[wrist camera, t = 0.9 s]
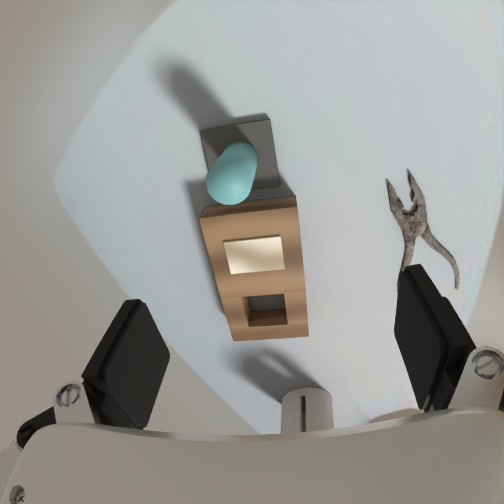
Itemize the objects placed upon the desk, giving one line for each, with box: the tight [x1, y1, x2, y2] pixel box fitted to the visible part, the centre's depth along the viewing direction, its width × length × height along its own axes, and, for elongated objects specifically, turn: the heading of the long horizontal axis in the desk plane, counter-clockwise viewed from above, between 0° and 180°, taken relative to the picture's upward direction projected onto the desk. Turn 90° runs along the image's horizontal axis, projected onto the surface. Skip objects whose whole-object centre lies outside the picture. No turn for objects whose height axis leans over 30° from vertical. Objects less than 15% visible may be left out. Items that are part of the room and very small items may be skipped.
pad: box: [200, 119, 280, 190], centre depth 31 cm, size 7×7×1 cm
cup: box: [281, 387, 334, 434], centre depth 47 cm, size 9×9×12 cm
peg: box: [206, 141, 259, 205], centre depth 27 cm, size 4×4×8 cm
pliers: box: [388, 174, 459, 290], centre depth 35 cm, size 10×1×20 cm
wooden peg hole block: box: [199, 196, 309, 341], centre depth 37 cm, size 18×10×3 cm, turn 10°
